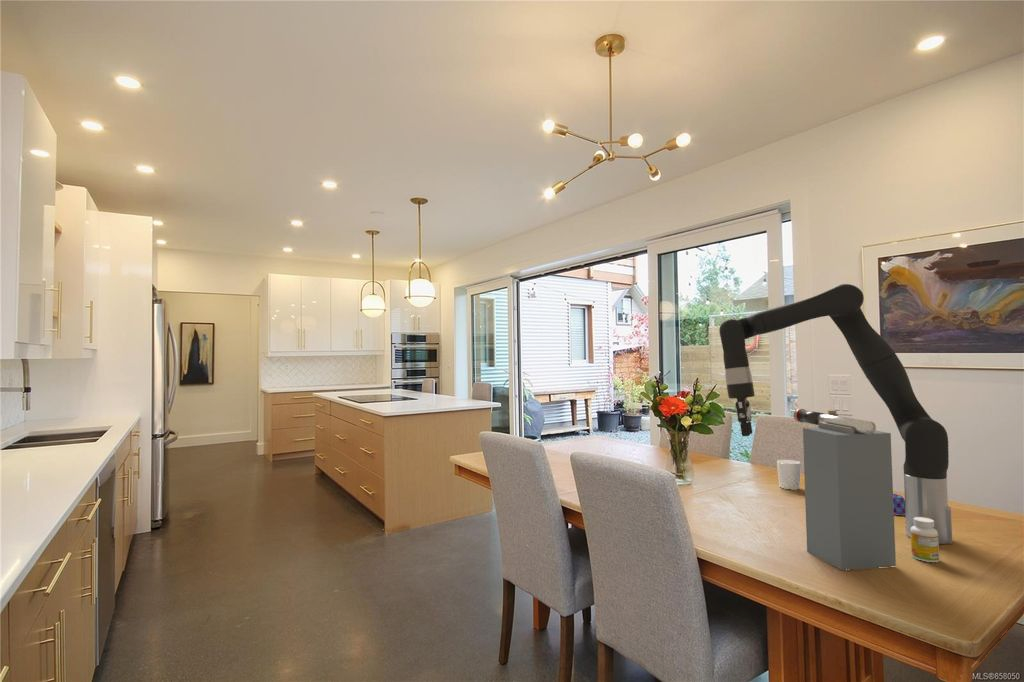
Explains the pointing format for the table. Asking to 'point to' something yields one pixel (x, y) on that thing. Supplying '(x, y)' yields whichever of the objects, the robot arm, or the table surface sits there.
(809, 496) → the tall grey box
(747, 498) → the table surface
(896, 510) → the pudding
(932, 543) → the supplement bottle
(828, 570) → the table surface
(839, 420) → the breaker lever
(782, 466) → the white cup
